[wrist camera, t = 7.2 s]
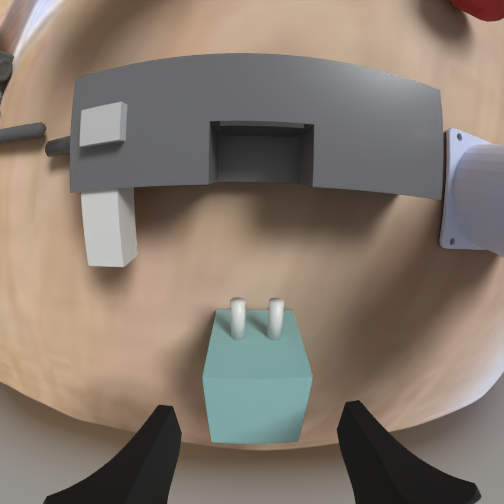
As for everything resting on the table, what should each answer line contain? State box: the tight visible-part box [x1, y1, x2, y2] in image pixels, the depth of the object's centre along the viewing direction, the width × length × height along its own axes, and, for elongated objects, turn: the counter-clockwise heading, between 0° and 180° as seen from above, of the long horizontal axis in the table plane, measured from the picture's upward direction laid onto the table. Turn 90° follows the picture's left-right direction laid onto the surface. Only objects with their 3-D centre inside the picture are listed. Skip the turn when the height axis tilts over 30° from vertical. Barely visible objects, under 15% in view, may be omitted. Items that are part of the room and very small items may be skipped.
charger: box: [202, 298, 313, 444], centre depth 14 cm, size 4×7×6 cm, turn 179°
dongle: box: [81, 187, 138, 267], centre depth 12 cm, size 2×4×2 cm, turn 179°
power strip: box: [45, 53, 443, 200], centre depth 11 cm, size 21×6×5 cm, turn 89°
